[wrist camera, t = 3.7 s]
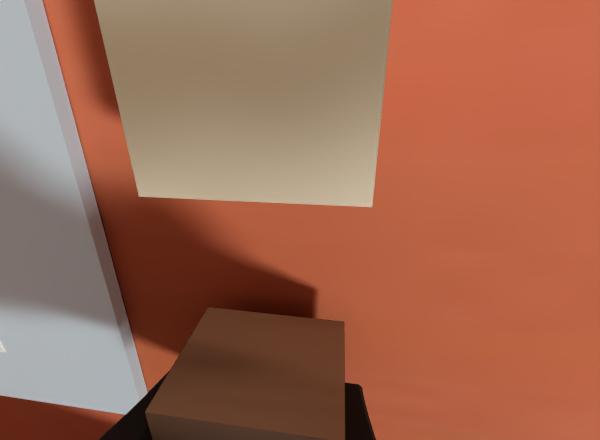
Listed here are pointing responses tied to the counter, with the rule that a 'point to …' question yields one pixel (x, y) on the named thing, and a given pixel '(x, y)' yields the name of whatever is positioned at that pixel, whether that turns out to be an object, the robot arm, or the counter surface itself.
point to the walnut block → (254, 380)
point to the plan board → (53, 240)
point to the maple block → (250, 96)
